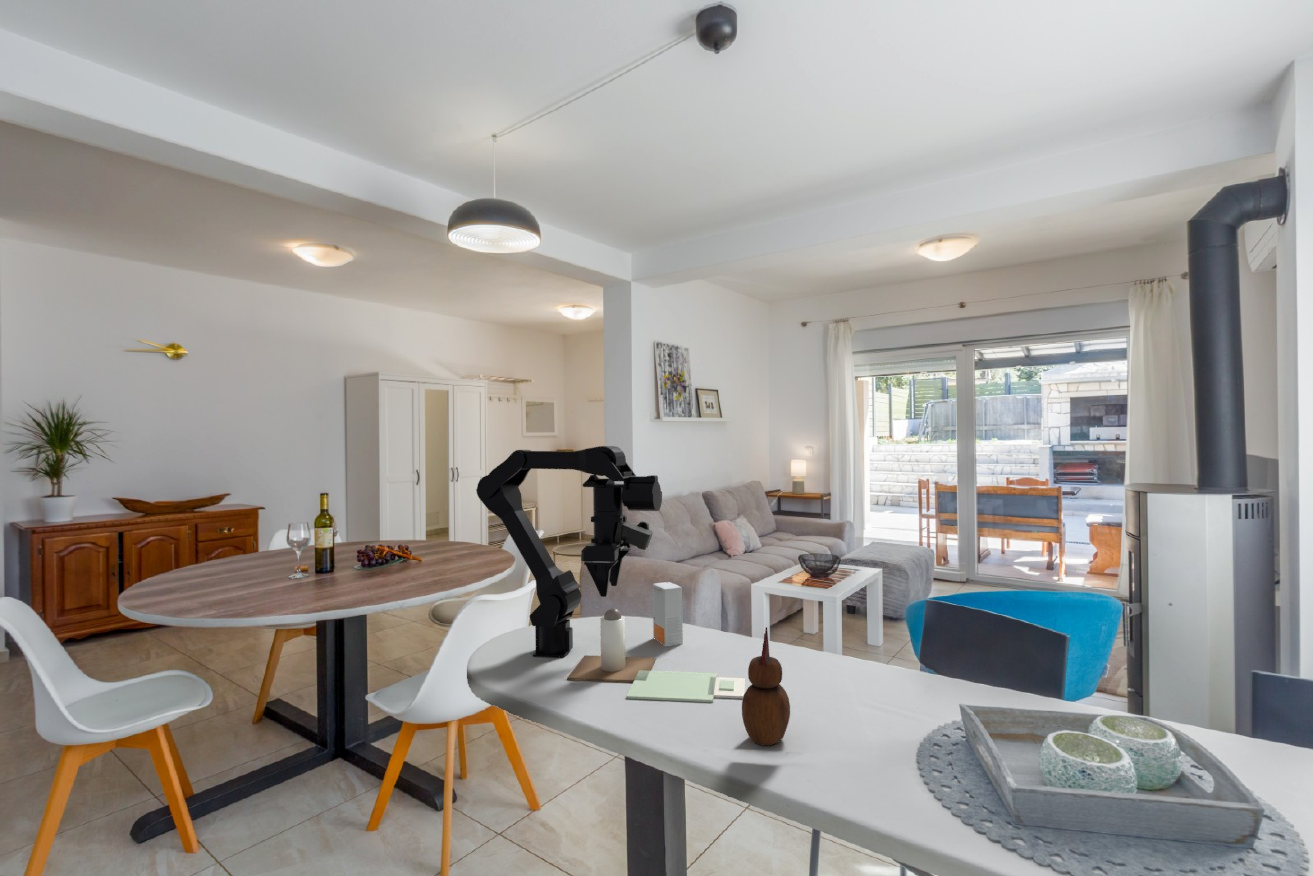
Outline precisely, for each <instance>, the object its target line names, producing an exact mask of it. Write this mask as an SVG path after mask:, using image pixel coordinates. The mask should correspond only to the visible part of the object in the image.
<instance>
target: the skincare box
mask: <svg viewBox="0 0 1313 876" xmlns="http://www.w3.org/2000/svg"><path fill="white" fill-rule="evenodd" d="M652 618H653V619H652V623H653V625H652V627H653V628H652V629H653V633H652V634H653V638H655V639H656V640H657V642H658V641H659V642H660V643H659V642H658V643H659V644H660V645H662V644H663V645H664V646H663V645H662V646H663V647H665V646H668V647H673V645H674V646H678V644H680V645H683V644H684V638H683V635H684V634H683V632H684V630H683V627H684V626H683V587H682V586H679V585H678V584H676V583H673V582H671V581H665V582H656V583H652ZM655 639H654V640H655ZM656 640H655V641H656Z"/></svg>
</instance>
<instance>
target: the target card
mask: <svg viewBox="0 0 1313 876" xmlns="http://www.w3.org/2000/svg"><path fill="white" fill-rule="evenodd" d="M710 678H711V679H712V677H710ZM713 678H714V679H716V681H715V680H714V681H715V684H714V685H715V688H714V690H713V689H712V688H713V687H714V686H713V685H712V684H713V683H712V682H714V681H713V680H710V681H712V682H711V690H710V689H709V690H708V695H714V698H716V699H717V698H719V699H721V698H722V699H737V700H738V699H740V700H741V699H742V700H743V696H744V694H745V692H746V678H744V677H720V676H719V677H718V676H717V677H713ZM712 686H713V687H712ZM709 688H710V686H709ZM710 691H711V692H710ZM712 691H713V692H714V693H712ZM709 692H710V693H711V694H710V693H709Z"/></svg>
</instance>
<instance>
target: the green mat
mask: <svg viewBox="0 0 1313 876" xmlns="http://www.w3.org/2000/svg"><path fill="white" fill-rule="evenodd" d="M643 672H645V670H643V671H642V674H641V672H640V670H639V672H638V674H637V675H638V677H636V678H639V677H640V678H642V677H643V675H644V673H643ZM648 672H649V673H648ZM640 674H641V675H642V677H641V676H640ZM717 675H718V674H717V672H697V671H695V672H693V671H668V670H666V671H665V670H651V671H647V670H646V675H644V676H646V681H645V679H644V678H642V679H643V680H644V681H643V680H641V681H640V680H639V679H637V680H636V679H635V680H634V682H633V683H632V684H631V686H630V688H629V691H628V693H627V694H626V699H630V700H631V699H633V700H649V701H651V700H652V701H670V702H671V701H673V702H674V701H675V702H695V703H696V702H697V703H714V695H708V690H709V689H710V690H711V682H712V681H710V680H713V681H714V680H715V681H716V679H714V678H713V677H718V676H717ZM647 676H648V677H647ZM710 677H712V679H711V678H710ZM715 681H714V682H712V683H713V684H712V685H713V686H714V687H713V686H712V687H713V688H712V689H713V690H714V688H715V685H714V684H715ZM709 686H710V688H709ZM710 692H711V691H710ZM710 692H709V693H710ZM712 693H714V692H713V691H712ZM710 694H711V693H710Z"/></svg>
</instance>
